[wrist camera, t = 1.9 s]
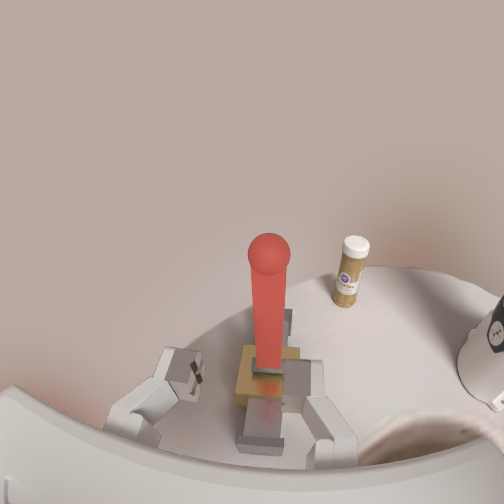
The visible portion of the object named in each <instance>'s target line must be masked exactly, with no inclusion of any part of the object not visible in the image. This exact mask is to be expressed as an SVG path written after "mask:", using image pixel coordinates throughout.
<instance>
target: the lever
mask: <svg viewBox="0 0 504 504" xmlns="http://www.w3.org/2000/svg"><path fill="white" fill-rule="evenodd" d="M248 260H249V263H250V265H251V278H252V279H251V280H252V296H253V313H254V330H255V346H256V357H253V358H252V364H251V371H252V372H264V373H279V374H284V369H285V360H286V359H281V355H282V341H283V325H284V307H285V287H286V286H285V285H286V267H287V265H288V263H289V260H290V248H289V246H288V244H287V242H286V241H285V240H284V239H283V238H282V237H281V236H279V235H277V234H273V233H265V234H262V235H259V236H258V237H256V238H255V239H254V240H253V241H252V242H251V244H250V246H249V249H248Z"/></svg>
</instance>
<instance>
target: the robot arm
mask: <svg viewBox="0 0 504 504" xmlns="http://www.w3.org/2000/svg"><path fill="white" fill-rule="evenodd" d="M201 357H202V355H201V352H200V351H193V350H186V349H179V348H174V347H167V346H166V347H165V348H164V349H163V352H162V354H161V357H160V360H159V363H158V365H157V367H156V370H155V372H154V375H153V377H149V378H147V379H146V380H145V381H144V382H142V383H141V384H140V385H138V386H137V387H136V388H134V389H133V390H132V391H130V392H129V393H128V394H126V395H125V396H124V397H122V398H121V399H120V400H118V401H117V402H116V403H114V404H113V405H112V407H111V410H110V413H109V415H108V417H107V420H106V423H105V425H104V428H103V430H102V429H100V428H97V427H95V426H93V425H90V424H88V423H86V422H84V421H81V420H79V419H77V418H75V417H73V416H71V415H69V414H67V413H65V412H63V411H61V410H59V409H57V408H55V407H53V406H52V405H50V404H48V403H46V402H45V401H43V400H41V399H39V398H38V397H36V396H34V395H33V394H31V393H29V392H28V391H26V390H24V389H23V388H21V387H20V386H18V385H12V386H10V387H8V388H6V389H4V390H2V391H1V392H0V504H504V455H503V453H502V452H501V450H500V449H499V448H498V447H497V446H496V445H495V444H494V443H493V442H492V441H491V440H489V439H488V438H480V439H478V440H475V441H472V442H469V443H467V444H464V445H461V446H458V447H454V448H451V449H448V450H445V451H441V452H437V453H434V454H430V455H426V456H422V457H417V458H413V459H408V460H403V461H398V462H392V463H386V464H379V465H372V466H364V467H358V443H357V436H356V434H355V433H354V432H353V430H352V429H351V428H350V426H349V425H348V424H347V422H346V421H345V420H344V418H343V417H342V415H341V414H340V413H339V411H338V410H337V409H336V407H335V406H334V404H333V403H332V402H331V400H330V399H329V398H328V396H324V367H323V361H322V360H308V359H286V360H285V369H284V380H283V393H282V405H281V412H289V413H301V415H302V417H303V419H304V420H305V422H306V424H307V426H308V427H309V429H310V431H311V433H312V434H313V436H314V438H315V439H316V441H317V442H316V443H315V444H314V446H313V447H312V449H311V450H310V452H309V453H308V455H307V464H306V470H294V469H271V468H258V467H248V466H240V465H232V464H225V463H219V462H213V461H208V460H202V459H197V458H193V457H188V456H184V455H179V454H175V453H171V452H168V451H164V450H160V449H158V446H159V442H160V439H161V434H160V433H159V432H158V431H157V430H156V429H155V428H154V427H153V425H154V424H155V423H156V422H157V421H159V420H160V419H161V418H162V417H163V416H164V415H165V414H166V413H167V412H168V411H169V410H170V409H171V408H172V407H173V406H174V405H175V404H176V403H177V402H178V401H179V399H180V400H185V401H191V402H198V398H199V394H200V391H201V389H200V387H199V384H200V383H201V382H202V381H203V379H204V375H205V364H204V361H203V360H201ZM457 366H458V372H459V376H460V379H461V381H462V383H463V385H464V386H465V388H466V389H467V390H468V392H469V393H470V394H471V395H472V396H474V397H475V398H477V399H478V400H480V401H483V402H485V403H486V404H488V405H489V407H490V408H491V409H492V410H493V411H495V412H499V411H501V410H502V409H503V408H504V296H503V297H502V298H501V299H500V301H499V302H498V304H497V305H496V308H495V310H491V311H490V312H489V313H488V314H487V316H486V317H485V318H484V319H483V321H482V322H481V323H480V325H479V326H478V327H477V328H476V329H475V328H473V329H471V330H470V331H469V333H468V336H467V341H466V343H465V344H464V345H463V346H462V348H461V350H460V352H459V355H458V360H457ZM501 402H502V403H501Z"/></svg>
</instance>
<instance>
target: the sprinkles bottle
mask: <svg viewBox="0 0 504 504" xmlns="http://www.w3.org/2000/svg"><path fill="white" fill-rule="evenodd" d="M369 247H370V244H369V242H368V241H367V240H366V239H365V238H363V237H361V236H356V235H351V236H348V237H346V238H345V239H344V242H343V247H342V250H343V253H342V259H341V263H340V269H339V272H338V277H337V282H336V289H335V293H334V295H333V299H334V302H335V303H336V304H337V305H339V306H341V307H350V306H352V305H353V304H354V303H355V300H356V295H357V291H358V289H359V285H360V281H361V277H362V273H363V270H364V264H365V260H366V257H367V255H368V252H369Z"/></svg>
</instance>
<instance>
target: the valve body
mask: <svg viewBox="0 0 504 504" xmlns="http://www.w3.org/2000/svg"><path fill="white" fill-rule="evenodd" d="M291 322H292V309H284V325H283V341H282V355H281V359H299V358H300V348H295V347H287V339H288V336H290V332H291ZM253 357H256V346H255V345H246V344H244V345H243V351H242V356H241V362H240V367H239V372H238V378H237V383H236V388H235V397H236V401H237V405H238V407H242V408H247V412H246V418H245V424H244V430H243V435H237V440H236V445H237V447H238V450H239V452H240V453H246V454H256V455H269V456H281V455H282V452H283V448H284V438H280V432H281V421H282V412H281V405H282V393H283V380H284V374H279V373H264V372H252V371H251V364H252V358H253Z"/></svg>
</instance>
